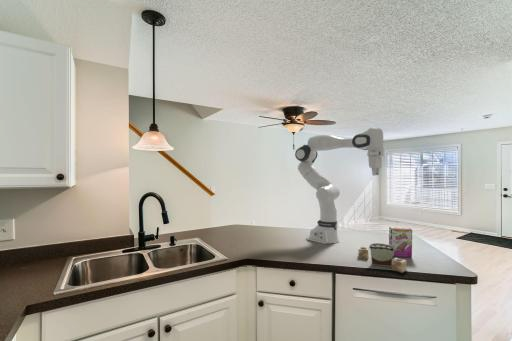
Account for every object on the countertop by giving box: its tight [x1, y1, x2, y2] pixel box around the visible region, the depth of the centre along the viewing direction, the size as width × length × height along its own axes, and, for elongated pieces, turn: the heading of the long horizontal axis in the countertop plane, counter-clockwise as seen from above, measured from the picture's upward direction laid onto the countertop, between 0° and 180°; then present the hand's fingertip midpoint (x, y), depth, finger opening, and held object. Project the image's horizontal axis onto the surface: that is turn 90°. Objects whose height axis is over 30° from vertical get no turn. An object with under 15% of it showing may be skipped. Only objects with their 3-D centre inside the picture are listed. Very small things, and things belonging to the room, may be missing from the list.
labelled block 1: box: [357, 246, 369, 260], centre depth 144 cm, size 5×5×5 cm
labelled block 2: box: [391, 257, 408, 273], centre depth 126 cm, size 5×5×5 cm
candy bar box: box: [388, 226, 413, 259], centre depth 145 cm, size 11×5×16 cm, turn 77°
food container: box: [368, 243, 395, 268], centre depth 134 cm, size 12×6×10 cm, turn 71°
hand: (375, 175), depth 157 cm, fingers open, 8 cm apart
